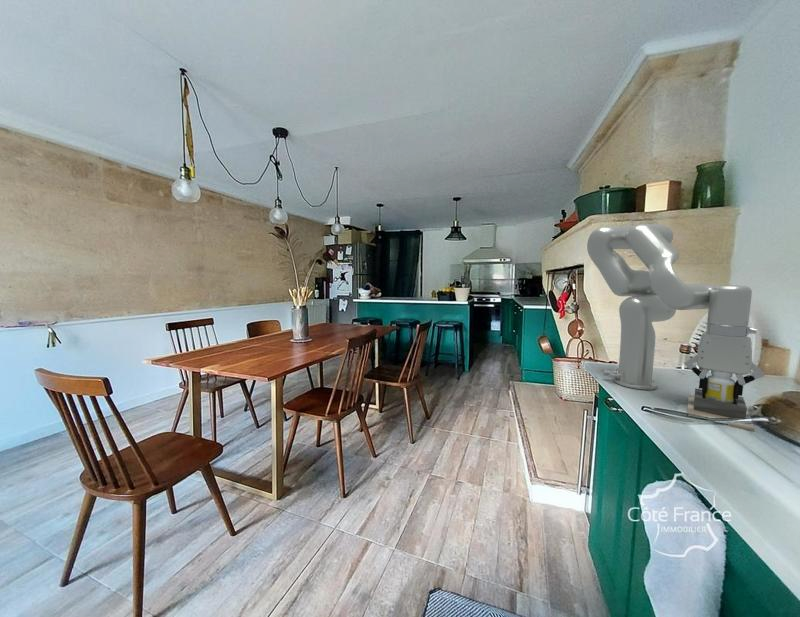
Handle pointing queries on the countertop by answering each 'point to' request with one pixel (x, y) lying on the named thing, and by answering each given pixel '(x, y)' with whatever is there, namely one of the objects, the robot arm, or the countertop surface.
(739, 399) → the holder board
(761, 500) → the countertop surface
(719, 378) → the supplement bottle
